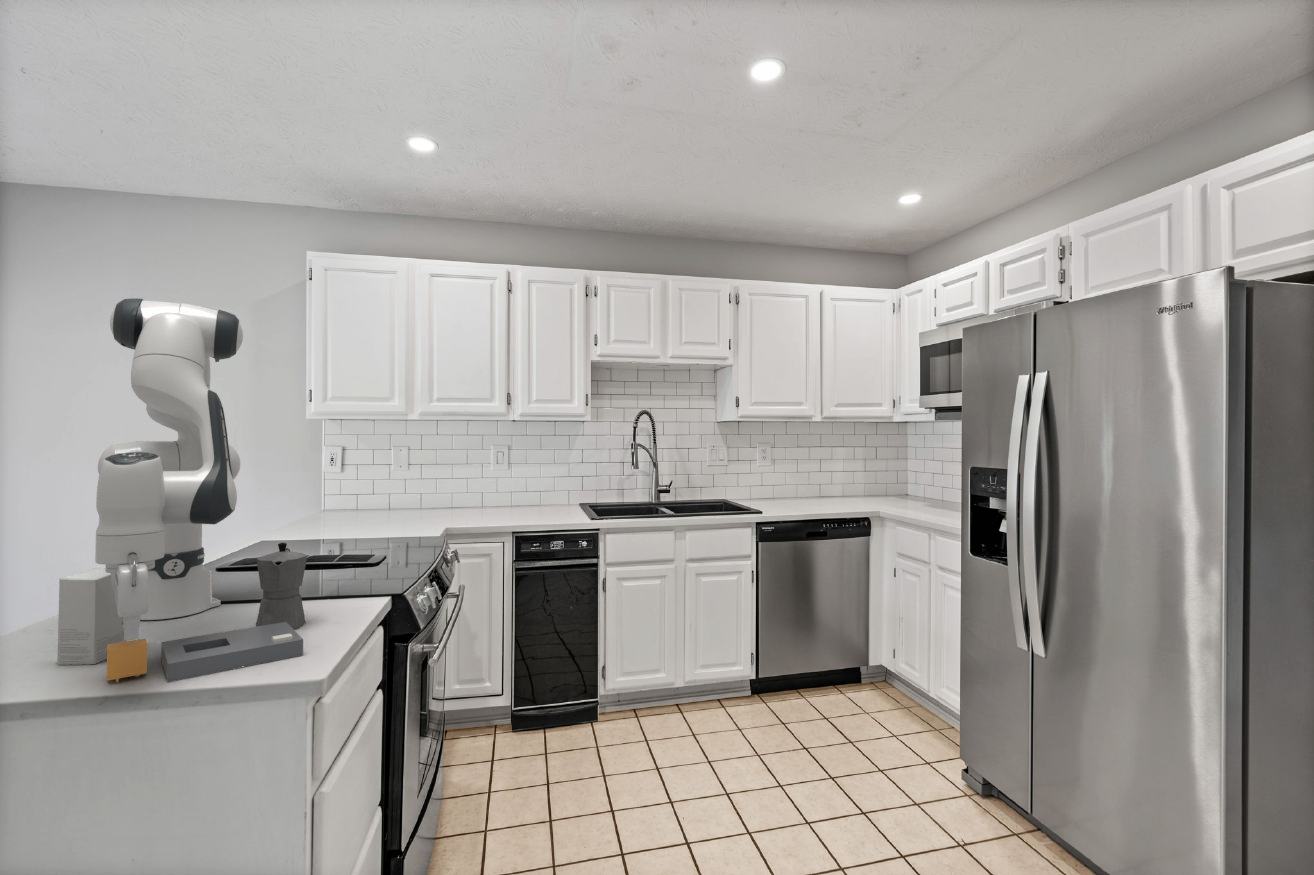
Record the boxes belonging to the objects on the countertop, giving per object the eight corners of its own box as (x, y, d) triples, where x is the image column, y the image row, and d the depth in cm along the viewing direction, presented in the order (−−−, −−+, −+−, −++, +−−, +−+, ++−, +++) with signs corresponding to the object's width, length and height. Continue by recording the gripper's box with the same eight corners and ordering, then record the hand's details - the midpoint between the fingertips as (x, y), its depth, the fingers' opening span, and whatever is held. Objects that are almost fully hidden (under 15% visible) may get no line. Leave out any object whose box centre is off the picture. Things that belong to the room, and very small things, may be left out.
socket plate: (160, 658, 114) (161, 638, 114) (285, 636, 127) (286, 618, 127) (167, 681, 103) (168, 660, 103) (302, 655, 117) (303, 636, 117)
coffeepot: (302, 633, 129) (304, 546, 129) (249, 638, 125) (251, 549, 125) (309, 613, 143) (311, 535, 143) (261, 617, 139) (263, 537, 139)
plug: (106, 678, 104) (107, 644, 104) (145, 671, 107) (145, 638, 107) (106, 685, 101) (107, 649, 101) (146, 677, 105) (147, 643, 105)
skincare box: (93, 649, 117) (95, 567, 117) (131, 649, 118) (132, 567, 118) (54, 666, 109) (56, 577, 109) (94, 665, 110) (96, 577, 110)
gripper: (160, 555, 99) (159, 643, 99) (150, 540, 114) (149, 616, 114) (107, 560, 94) (106, 652, 94) (104, 544, 109) (102, 623, 109)
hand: (129, 632), depth 104 cm, fingers open, 8 cm apart
